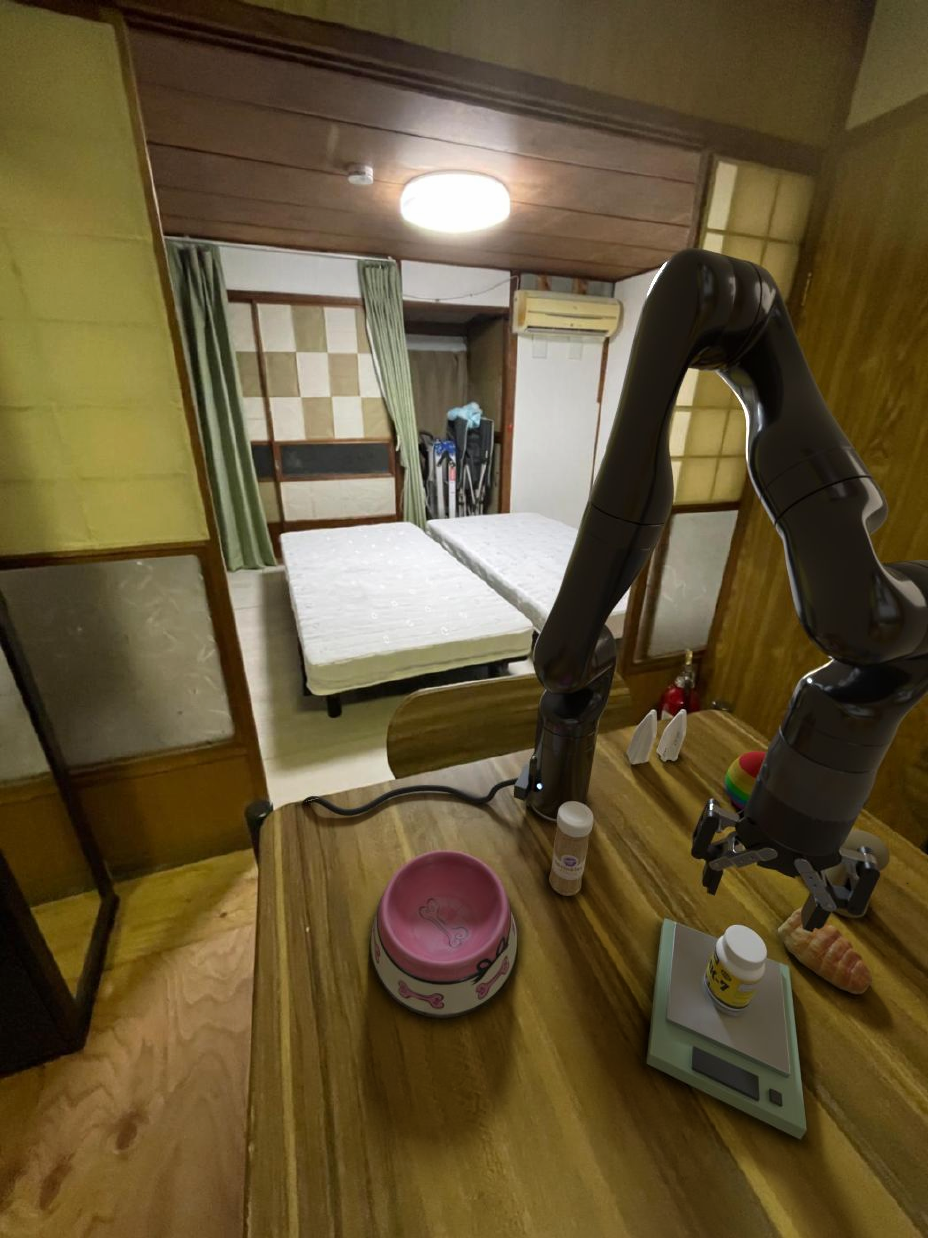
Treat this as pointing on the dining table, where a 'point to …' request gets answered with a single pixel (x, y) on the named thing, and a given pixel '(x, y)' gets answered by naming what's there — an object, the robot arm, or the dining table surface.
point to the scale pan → (700, 1014)
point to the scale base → (726, 1058)
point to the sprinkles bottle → (570, 847)
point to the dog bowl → (444, 935)
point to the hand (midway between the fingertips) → (756, 904)
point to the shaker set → (647, 734)
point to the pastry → (826, 954)
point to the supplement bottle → (736, 967)
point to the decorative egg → (743, 777)
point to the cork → (853, 843)
